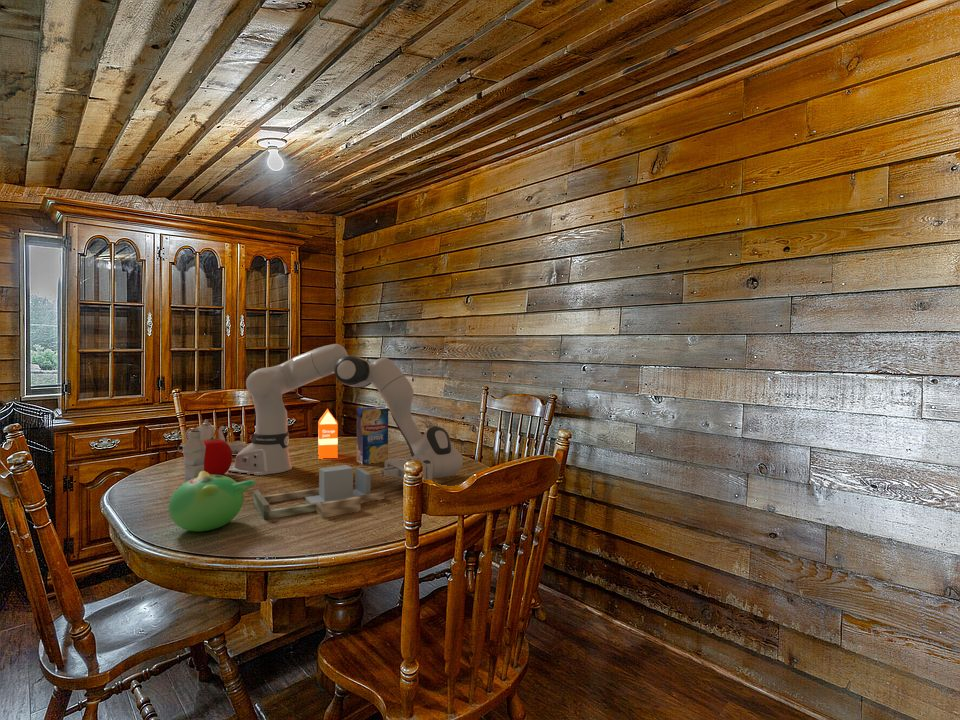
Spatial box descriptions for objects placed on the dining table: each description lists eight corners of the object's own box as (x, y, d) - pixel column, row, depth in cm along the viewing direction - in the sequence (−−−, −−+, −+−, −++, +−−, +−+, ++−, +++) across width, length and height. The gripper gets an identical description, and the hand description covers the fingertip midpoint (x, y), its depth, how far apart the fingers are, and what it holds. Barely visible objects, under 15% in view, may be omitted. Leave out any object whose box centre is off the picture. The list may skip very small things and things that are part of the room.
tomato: (188, 480, 182) (187, 440, 181) (200, 472, 193) (199, 434, 193) (226, 479, 184) (226, 439, 183) (236, 471, 195) (236, 433, 195)
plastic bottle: (211, 491, 170) (210, 430, 169) (191, 497, 163) (191, 433, 163) (197, 489, 172) (197, 428, 171) (178, 494, 166) (177, 432, 165)
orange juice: (336, 454, 227) (336, 408, 226) (337, 458, 218) (338, 410, 217) (317, 454, 224) (318, 408, 223) (318, 459, 216) (318, 411, 215)
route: (365, 486, 178) (365, 475, 178) (393, 505, 159) (393, 492, 159) (252, 503, 158) (252, 490, 158) (269, 527, 139) (269, 512, 139)
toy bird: (214, 513, 149) (214, 462, 149) (259, 522, 143) (259, 469, 142) (154, 535, 133) (153, 477, 132) (202, 546, 126) (201, 486, 126)
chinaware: (250, 456, 227) (251, 417, 228) (238, 461, 211) (239, 419, 212) (181, 457, 223) (183, 418, 224) (164, 462, 207) (165, 420, 208)
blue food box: (388, 461, 214) (388, 408, 213) (362, 465, 208) (362, 409, 207) (381, 458, 220) (381, 406, 219) (356, 461, 214) (356, 407, 213)
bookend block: (359, 491, 173) (359, 461, 173) (370, 499, 165) (370, 467, 165) (304, 499, 164) (304, 468, 163) (313, 508, 156) (313, 475, 155)
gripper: (407, 452, 189) (370, 456, 181) (434, 464, 172) (395, 470, 164) (406, 469, 189) (370, 474, 182) (434, 483, 172) (395, 489, 164)
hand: (382, 472), depth 173 cm, fingers closed
